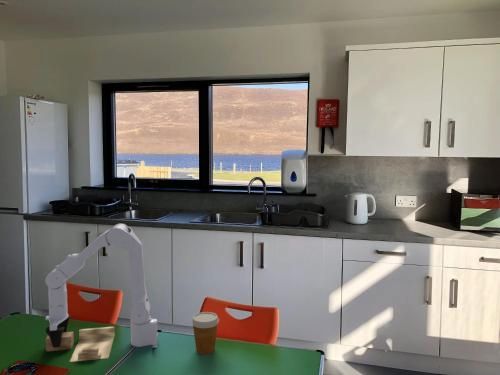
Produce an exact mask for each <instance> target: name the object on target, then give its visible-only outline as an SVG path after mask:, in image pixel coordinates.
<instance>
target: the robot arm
mask: <svg viewBox="0 0 500 375" xmlns="http://www.w3.org/2000/svg"><path fill="white" fill-rule="evenodd" d="M110 245H111V246H113V247H115V248H116V247H117V248H121V249H122V250H124V251H125V252H127V253H128V260H129V262H128V263H129V274H130V283H131V295H132V296H131V297H132V298H131V311H130V313H129V318H130V345H131V346H133V347H138V348H141V347H145V346H152V349H154V348H155V349H156V348H158V340H159V333H158V319H157V318H152V316H151V314H150V310H151V308H152V304H151V302H150V300H149V298H148V292H147V288H146V286H147V284H146V274H145V263H144V262H145V261H144V260H145V259H144V249H143V243H142V241H141V240H140V239H139V238H138V236H137V235H136V234H135V232H134V231H133V229H132V227H130V226H128V225H127V224H126V223H117V224H114V226H113V227H112V228H109V229H107V230H106V231H104V232H103V233H101V234H100V235H98V236H97V238H95V239H94V240H93V241H92V242H91V243H89V245H88V246H86V247H85V248H84V249H83V250H82V251H80V252H79V253H72V254H68V255H67V256H65V259H64V260H63V261H62V262H61V263H59V264H57V265H55V266H54V269H53V270H52V271H50V272H49V273H48V274H47V275H46V277H45V280H44V282H45V285H46V286H47V289H48V290H47V291H48V292H47V295H48V314H49V315H46V317H45V321H49V326H47V327H46V328H45V333H46V334H47V336H48V335H49V337H50V339H51V343H52V346H53V348H56V347H60V345H61V338H62V333H63V332H68V325H69V322H70V319H71V317H72V315H71V314H69V313H68V312H69V311H68V289H67V281H68V280H69V279H71V278H72V277H73V276H74V275H76V274H77V273H78V272H79V271H80V270H81V269H83V268H84V267H85V266H86V265H85V264H86V260H88V258H90V257H91V256H93V255H94V254H95V253H96V252H97V251H99V250H100V249H101V248H105V247H110Z"/></svg>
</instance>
